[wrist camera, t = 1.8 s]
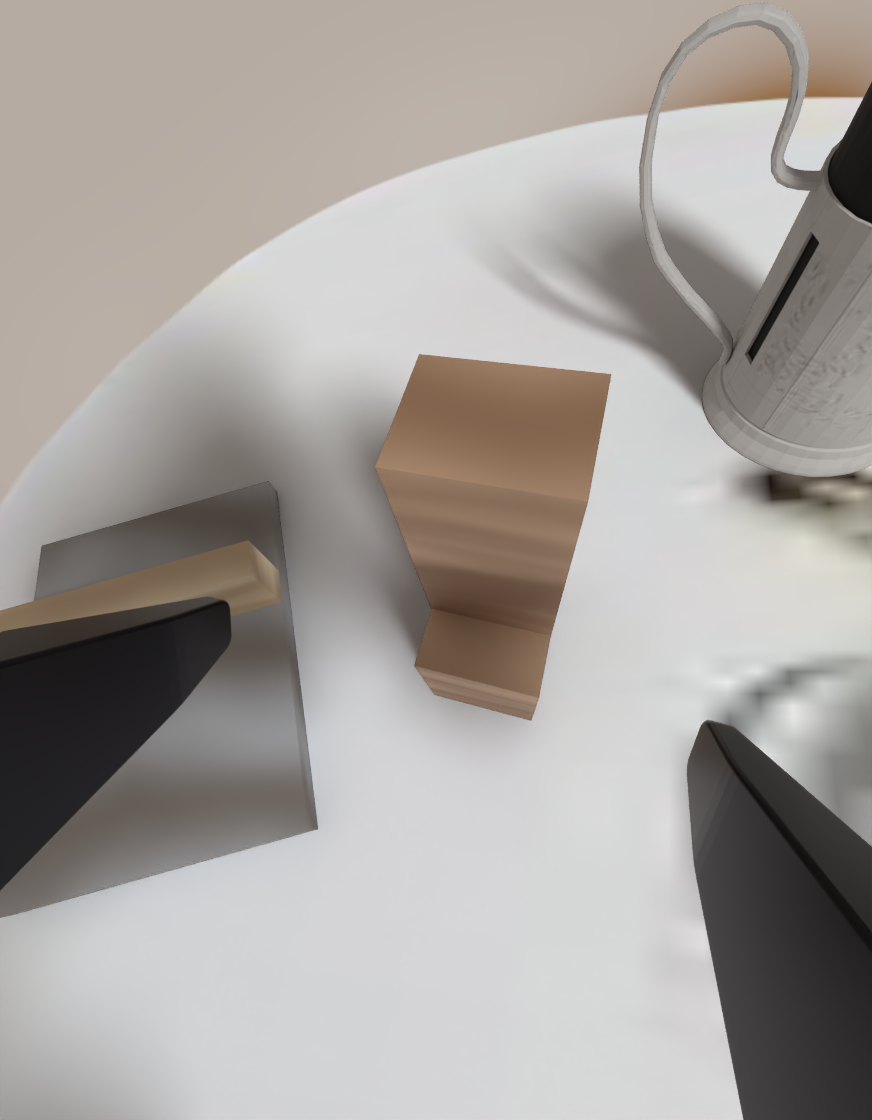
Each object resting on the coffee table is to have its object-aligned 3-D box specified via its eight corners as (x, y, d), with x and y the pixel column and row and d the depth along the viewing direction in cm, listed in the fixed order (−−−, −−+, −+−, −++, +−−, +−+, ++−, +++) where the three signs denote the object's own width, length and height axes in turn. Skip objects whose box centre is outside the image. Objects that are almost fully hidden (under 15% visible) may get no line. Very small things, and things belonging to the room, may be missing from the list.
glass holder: (905, 494, 21) (1568, -8, 8) (576, 435, 25) (657, 18, 12) (901, 351, 25) (1370, -178, 11) (610, 316, 28) (704, -117, 15)
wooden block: (531, 720, 19) (568, 606, 8) (434, 694, 20) (338, 558, 9) (561, 563, 22) (623, 304, 10) (475, 546, 23) (443, 291, 11)
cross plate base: (317, 829, 19) (273, 836, 15) (15, 914, 19) (-101, 942, 15) (276, 492, 26) (240, 443, 22) (57, 554, 26) (-15, 515, 22)
